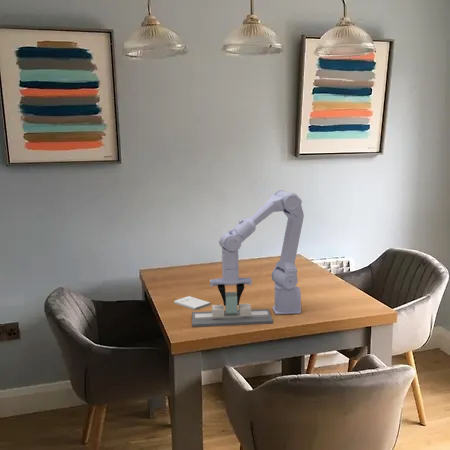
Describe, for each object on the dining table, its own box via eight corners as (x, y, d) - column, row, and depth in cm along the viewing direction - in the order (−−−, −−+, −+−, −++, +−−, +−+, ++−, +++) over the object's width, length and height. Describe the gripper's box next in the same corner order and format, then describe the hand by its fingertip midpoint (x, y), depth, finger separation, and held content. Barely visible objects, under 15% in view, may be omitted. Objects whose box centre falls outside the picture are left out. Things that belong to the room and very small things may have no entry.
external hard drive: (195, 312, 200) (173, 304, 209) (211, 306, 206) (189, 299, 215) (195, 307, 200) (173, 300, 209) (211, 302, 206) (189, 295, 214)
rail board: (268, 311, 197) (268, 299, 197) (273, 323, 186) (273, 310, 185) (192, 314, 196) (191, 302, 195) (192, 327, 184) (191, 314, 183)
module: (236, 307, 193) (236, 291, 192) (237, 312, 188) (237, 296, 187) (225, 308, 193) (224, 292, 192) (226, 313, 188) (225, 296, 187)
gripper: (249, 263, 191) (250, 299, 194) (209, 265, 191) (210, 301, 193) (252, 268, 185) (252, 306, 187) (209, 270, 184) (211, 308, 186)
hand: (231, 304), depth 190 cm, fingers closed on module, 4 cm apart
